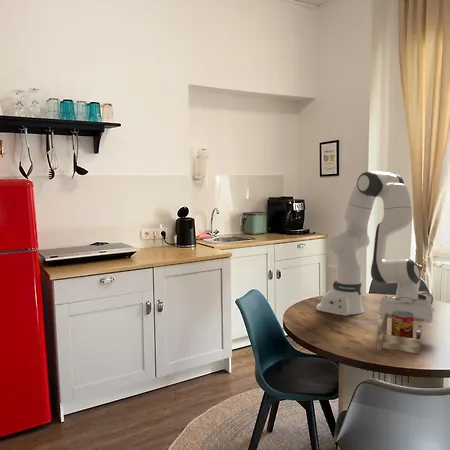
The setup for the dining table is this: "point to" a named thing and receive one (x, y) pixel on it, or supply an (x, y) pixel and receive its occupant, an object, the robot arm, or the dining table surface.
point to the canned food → (402, 324)
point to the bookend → (419, 334)
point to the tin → (427, 295)
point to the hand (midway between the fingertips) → (404, 328)
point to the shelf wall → (394, 338)
